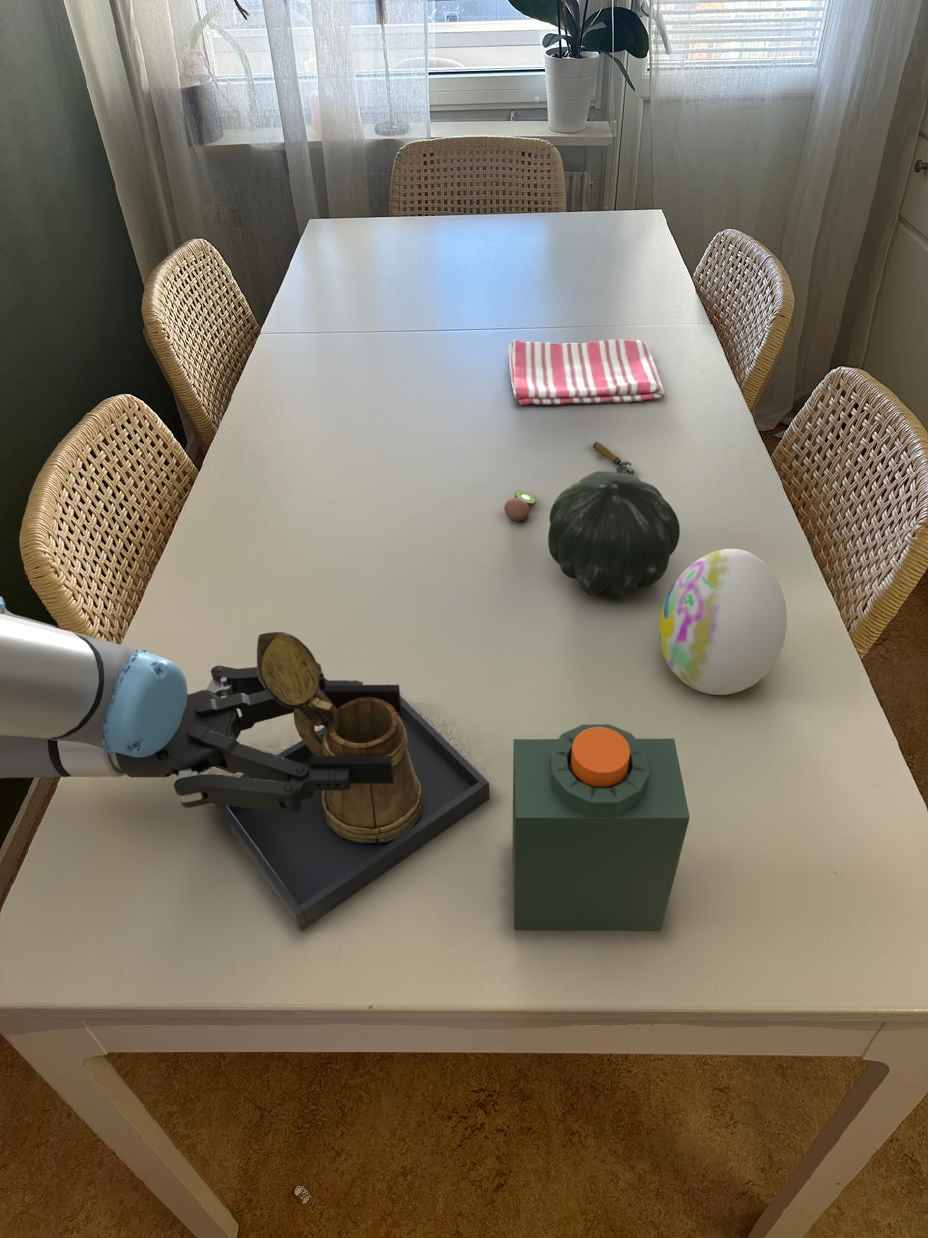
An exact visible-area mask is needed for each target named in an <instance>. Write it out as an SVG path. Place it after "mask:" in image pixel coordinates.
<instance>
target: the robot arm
mask: <svg viewBox="0 0 928 1238" xmlns="http://www.w3.org/2000/svg"><path fill="white" fill-rule="evenodd" d="M316 663H317V666H318V671H319V686H320V689H321V690H322V691H323V692H324V694H325V695H326V696H327V697H328V698H329V699H330V701H331V702H332V704H333V705H334V706H335V707H336V709H337V708H339V707H340V706H342V705H344V704H345V703H347V702H350V701H352V700H355V699H358V698H361V697H373V698H378V699H381V700H384V701H386V702H388V703H389V704H390V705H391V706H393V708H394V709H395V710H396V712H401V706H402V705H401V697H402V696H401V690H400V684H364V683H363V681H361V680H357V679H353V680H352V679H351V680H349V679H347V680H346V679H344V680H343V679H342V680H341V679H339V680H338V679H337V680H336V679H333V680H332V679H331V680H330V679H327V678H326V677H325V674H324V672H323V670H322V669H323V668H322V666H321V663H320V662H318V661H316ZM210 675H211V677H212V679H211V681H210V682H209V684H208V686H207V687H206V689H201V690H198V691H195V692H192V693H188V684H187V683H188V682H187V679H186V677H185V673H184V671H183V670H182V668H181V667H180V666H179V665H178V664H176V663H175V662H174V661H172V660H170V659H168V658H165V657H162V656H159V655H156V654H154V653H151V652H150V651H149V650H146V649H142V648H134V647H130V646H126V645H123V644H120V643H116V642H113V641H109V640H106V639H102V638H98V637H94V636H91V635H87V634H83V633H78V632H75V631H71V630H69V629H67V628H62V627H59V626H56V625H52V624H49V623H46V622H42V621H39V620H37V619H36V620H35V619H32V618H29V617H25V616H21V615H17V614H13V613H12V612H10V611H9V610H7V608H6V603H5V600H4V598H3V596H0V780H2V779H16V778H17V779H19V778H20V779H23V778H31V779H32V778H68V777H69V778H70V777H71V778H122V777H123V776H125V775H126V776H127V777H129V778H169V777H171V776H173V775H174V776H176V777H178V779H176V780H175V781H174V783H173V789H174V791H175V793H176V795H177V798H178V800H179V802H180V805H181V806H182V807H183V808H185V809H190V808H194V807H201V806H205V805H213V804H216V805H225V806H235V807H244V808H253V809H263V810H272V811H281V812H291V813H293V812H297V811H298V810H299V809H300V808H301V801H302V799H309V798H311V797H312V796H313V794H314V790H347V789H350V785H351V783H355V784H393V783H394V771H393V765H392V758H391V756H311V759H310V767H311V768H308V767H307V766H306V765H305V764H302V763H299V762H296V761H292V760H289V759H286V758H283V757H280V756H277V755H278V754H273V753H270V752H268V751H264V750H261V749H258V748H256V747H252V746H249V745H246V744H243V743H240V742H239V741H238V738H239V736H240V735H241V733H242V731H245V730H250V729H253V727H254V726H255V724H257V723H260V722H264V721H268V720H271V719H272V720H273V719H276V718H278V717H283V716H286V715H289V714H294V709H290V708H286V707H284V706H282V705H280V704H279V703H278V702H277V701H276V700H275V699H274V698H273V697H272V696H271V694H270V693H269V692H268V691H267V690H266V689H265V688H264V686H263V685H262V683H261V681H260V680H259V676H258V672H257V666H253V667H241V668H236V667H230V666H224V665H216V666H213V667H212V668H211V669H210ZM400 696H401V697H400ZM238 710H239V711H240V714H241V715H240V714H239V711H238ZM211 768H215V769H219V770H222V771H225V772H227V773H229V774H232V775H233V774H234V775H236V774H237V773H239V774H243V775H244V774H245V775H248V776H251V777H254V778H257V779H253V778H243V777H241V776H234V775H233V776H232V775H222V774H215V773H214V774H213V773H211V774H210V773H205V774H202V773H204V772H206V771H208V770H210V769H211Z"/></svg>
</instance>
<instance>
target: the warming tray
mask: <svg viewBox="0 0 928 1238" xmlns="http://www.w3.org/2000/svg"><path fill="white" fill-rule="evenodd" d="M400 697H401V705H402V706H401V712H397V715H398V716H399V718H400V719H401V721H402V723H403V725H404V728H405V730H406V734H407V738H408V741H407V749H408V752H409V755H410V759H411V762H412V766H413V769H414V772H415V775H416V777H417V779H418V781H419V783H420V786H421V788H422V792H423V799H424V803H423V809H422V812H421V814H420V816H419V818H418V820H417V822H416V823H415V824H414V825H413V826H412V827H411V829H410V830H408V831H407V832H405V833H404V834H402V835H401V836H399V837H398V838H396V839H393V840H390V841H387V842H381V843H359V842H355V841H351V840H349V839H347V838H344V837H341V836H339V835H338V834H337V833H336V832H335V831H334V830H333V829H332V828H331V827H330V826H329V825H328V824H327V821H326V818H325V815H324V810H323V804H322V792H323V790H314V794H313V796H312V797H311V798H309V799H302V801H301V808H300V809H299V810H298V811H297V812H293V813H291V812H281V811H272V810H263V809H253V808H244V807H235V806H225V805H216V804H212V805H213V807H214V810H215V812H216V813H217V815H218V816H219V818H220V819H221V821H222V822H223V823H224V825H225V826H226V828H227V829H228V831H229V832H230V833H231V835H232V836H233V838H234V839H235V841H236V842H237V843H238V844H239V846H240V848H241V849H242V850H243V852H244V853H245V854H246V856H247V857H248V859H249V860H250V862H251V863H252V864H253V866H254V867H255V869H256V870H257V872H258V873H259V874H260V877H262V879H263V880H264V882H265V883H266V884H267V886H268V887H269V889H270V890H271V892H272V893H273V894H274V896H275V897H276V898H277V900H278V902H279V903H280V904H281V905H282V907H283V909H284V910H285V912H286V913H287V914H288V915H289V917H290V918H291V920H292V921H293V923H294V924H295V925H296V927H297V928H298V930H299V931H300V932H303V931H304V930H305V929H307V928H308V927H310V926H311V925H313V924H314V923H315V922H317V921H319V919H321V918H323V917H324V916H325V915H327V914H328V913H329V912H331V911H332V910H334V909H335V908H337V907H338V906H340V905H341V904H343V903H344V902H345V901H347V900H348V899H350V898H351V897H352V896H354V895H356V893H358V892H360V891H361V890H362V889H363V888H365V887H367V886H368V885H369V884H371V883H372V882H374V881H375V880H377V879H379V877H381V876H383V874H385V873H387V872H388V871H389V870H390V869H392V868H394V867H395V866H397V865H398V864H400V863H401V862H402V861H404V860H405V859H407V858H408V857H409V856H411V855H412V854H413V853H415V852H417V851H418V850H419V849H421V848H423V846H425V845H426V844H428V843H429V842H431V841H432V840H433V839H435V838H437V836H438V837H439V835H440V834H442V833H444V832H445V831H446V830H448V829H450V828H451V827H452V826H453V825H455V824H456V823H458V822H459V821H461V820H462V819H463V818H465V817H466V816H468V815H470V814H471V813H472V812H474V811H475V810H476V809H478V808H479V807H481V806H482V805H483V804H485V803H486V802H488V801H490V799H491V797H490V782H489V781H488V780H487V779H486V778H485V777H484V776H483V774H481V773H480V772H479V771H478V770H477V769H476V768H475V767H474V766H473V765H472V764H471V763H470V761H468V760H467V759H466V758H465V757H464V756H463V755H462V754H460V752H459V751H458V750H457V749H456V748H455V747H454V746H453V745H452V744H450V742H448V740H447V739H445V738H444V737H443V735H441V734H440V733H439V732H438V731H437V730H436V729H435V728H434V726H433V725H431V724H430V723H429V722H428V721H427V720H426V719H425V717H423V716H422V715H421V713H419V712H418V711H417V710H416V709H415V708H414V707H413V706H412V705H411V704H410V703H409V702H408V701H407V700H406V699H405V698H404V697H403V696H402V695H400ZM324 730H325V727H324V726H323V727H322V728H320V729H318V730H316V732H317V733H318V734H319V735H320V736H321V737H322V736H323V733H324ZM276 755H277V756H280V757H283V758H286V759H289V760H292V761H296V762H299V763H302V764H305V765H306V766H307V767H308V768H311V767H310V759H311V756H314V755H313V753H312V752H311V751H310V750H309V748H308V747H307V746H306V744H305V743H304V741H303V740H302V739H301V740H300V741H298V742H297V743H295V744H293V745H291V746H289V747H288V748H286V749H284V750H283V751H281V752H279V753H278V754H276ZM240 777H243V778H253V779H257V778H254V777H251V776H248V775H245V774H243V775H240Z"/></svg>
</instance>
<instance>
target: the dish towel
mask: <svg viewBox="0 0 928 1238" xmlns="http://www.w3.org/2000/svg"><path fill="white" fill-rule="evenodd" d="M507 352H508V366H509V372H510V383H511V386H512V392H513V395H514V398H515V399H518V402H519V405H520V406H526V405H529V404H534V405H545V406H550V405H564V404H593V403H594V404H600V403H610V402H611V403H612V402H613V403H621V402H622V403H624V402H625V403H628V402H642V401H646V400H647V401H648V400H652V399H660V398H663V397H664V395H665V389H664V386H663V383H662V381H661V378H660V375H659V372H658V369H657V366H656V364H655V361H654V358H653V355H652V353H651V351H650V349H649V347H648V344H647V343H646V342H645V341H642V340H638V339H637V340H629V339H606V340H599V341H594V342H583V343H578V342H570V343H567V342H564V343H559V344H558V343H553V342H552V343H551V342H546V341H545V342H543V341H542V342H541V341H534V342H533V341H526V342H523V341H521V340H519V339H513V341H512V342H510V343H509V344H508V351H507Z"/></svg>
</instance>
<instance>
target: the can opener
mask: <svg viewBox="0 0 928 1238" xmlns="http://www.w3.org/2000/svg"><path fill="white" fill-rule="evenodd" d="M592 447H593V449H594V450H595V451H596V452H598V453H599V454H600V455H601V456H603V457H605V458H606V459H608V460H609V461H610V462H611V463H612V464H613V465H615V466H616V468H615V470H616V473H617V474H632V475H634V474H635V470H634V469H633V468H632V463H631V462H630V461H629V462H628V461H623V462H622V460H621V458H620V457H618V456H617V455H615V454H614V453H613V452H612V451H611V450H609V448H607V447H606V446H605V445H604V444H602V443H600V442H599V441H595V442H594V443H592ZM627 465H629V466H630V467H629V466H627Z"/></svg>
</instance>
